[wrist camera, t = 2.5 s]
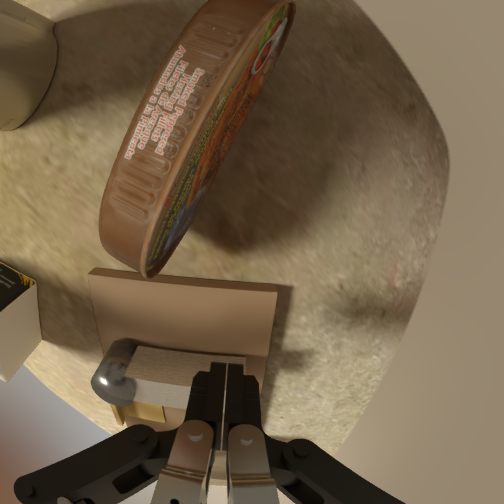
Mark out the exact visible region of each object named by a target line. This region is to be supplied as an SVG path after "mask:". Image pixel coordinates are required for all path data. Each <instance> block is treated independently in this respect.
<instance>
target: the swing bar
mask: <svg viewBox="0 0 504 504" xmlns="http://www.w3.org/2000/svg"><path fill="white" fill-rule="evenodd" d="M211 361H213V362H224V363H227V367H226V381H225V396H224V408H223V413H224V411H225V397H226V384H227V371H228V363H236V364H243V365H244V372H243V375H246V357H231V356H218V355H206V354H196V353H187V352H179V351H171V350H163V349H156V348H150V347H143V346H138V345H136V344H135V343H133V342H131V341H128V340H116V341H114V342H113V343H112V344H111V346H110V348H109V349H108V351H107V353H106V354H105V356H104V358H103V360H102V361H101V363H100V365H99V367H98V368H97V370H96V372H95V374H94V375H93V377H92V379H91V386H92V388H93V390H94V391H95V393H96V394H97V395H98V396H99V397H100V398H102V399H103V400H104V401H106V402H108V403H110V404H112V405H115V406H121V407H125V406H129V405H131V404H132V402H133V401H138V402H143V403H149V404H154V405H160V406H166V407H173V408H180V409H187V404H188V399H189V395H190V390H191V385H192V381H193V377H194V376H195V375H196V374H197V373H198V372H199V371H207V372H210V366H211Z"/></svg>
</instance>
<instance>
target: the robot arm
mask: <svg viewBox="0 0 504 504" xmlns="http://www.w3.org/2000/svg"><path fill="white" fill-rule="evenodd" d="M54 24H55V22H54V21H52V20H50V19H48V18H46V17H44V16H43V15H41V14H39V13H37V12H35V11H33V10H31V9H29V8H27V7H25V6H23V5H21V4H19V3H17V2H15V1H13V0H0V131H10V130H13V129H15V128H17V127H18V126H20V125H21V124H22V123H24V122H25V121H26V120H27V119H28V118H29V117H30V116H31V115H32V113H33V112H34V110H35V109H36V108H37V106H38V105H39V103H40V102H41V100H42V98H43V96H44V95H45V93H46V91H47V88H48V86H49V84H50V82H51V79H52V76H53V73H54V70H55V65H56V61H57V50H58V49H57V42H56V39H55V37H54V35H53V27H54ZM226 367H227V363H224V362H213V361H211V366H210V372H207V371H199V372H198V373H197V374H196V375H195V376H194V377H193V381H192V385H191V390H190V395H189V399H188V404H187V409H186V414H185V419H184V421H183V423H182V424H181V425H180V426H179V427H177V428H176V429H173V430H169V431H159V432H156V431H155V430H154V429H153V428H151V427H150V426H147V425H144V424H135V425H132V426H130V427H128V428H126V429H124V430H122V431H121V432H119V433H117V434H115V435H113V436H111V437H109V438H107V439H105V440H103V441H101V442H99V443H97V444H95V445H94V446H91V447H90V448H87V449H85V450H83V451H81V452H79V453H77V454H75V455H73V456H70V457H68V458H66V459H64V460H61V461H59V462H57V463H55V464H52V465H49V466H47V467H45V468H42V469H40V470H37V471H35V472H32V473H30V474H27V475H24V476H22V477H19V478H18V479H17V480H16V482H15V484H14V492H15V495H16V497H17V499H18V500H19V501H20V502H21V503H23V504H117V503H120V502H121V501H123V500H125V499H127V498H128V497H130V496H132V495H134V494H135V493H137V492H139V491H140V490H142V489H143V488H145V487H147V486H148V485H150V484H152V483H153V482H155V481H156V480H158V481H157V484H156V487H155V491H154V494H153V497H152V500H151V503H150V504H207V497H208V491H209V486H210V480H211V475H212V469H213V464H214V462H215V452H216V450H219V451H220V449H221V435H222V422H223V408H224V396H225V381H226ZM243 372H244V365H243V364H236V363H228V371H227V384H226V397H225V411H224V425H223V442H222V451H227V453H226V482H227V498H228V504H279V498H278V493H277V488H278V489H279V490H280V491H281V492H282V493H283V494H284V495H286V496H287V497H288V498H289V499H290V500H292V501H293V502H294V503H295V504H405V503H403V502H402V501H400V500H398V499H397V498H395V497H393V496H391V495H390V494H388V493H386V492H385V491H383V490H381V489H380V488H378V487H376V486H375V485H373V484H372V483H370V482H368V481H367V480H365V479H364V478H362V477H361V476H359V475H358V474H356V473H355V472H353V471H352V470H350V469H349V468H347V467H346V466H344V465H343V464H342V463H340V462H339V461H337V460H336V459H335V458H333V457H332V456H330V455H329V454H328V453H326V452H325V451H324V450H322V449H321V448H320V447H318V446H317V445H316V444H314V443H313V442H311V441H309V440H307V439H294V440H291V441H290V442H288V443H286V442H282V441H278V440H275V439H273V438H271V437H269V436H268V435H266V434H265V432H264V431H263V429H262V426H261V410H260V394H259V382H258V381H257V379H256V378H255V376H254V375H243Z"/></svg>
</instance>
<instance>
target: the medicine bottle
mask: <svg viewBox="0 0 504 504" xmlns="http://www.w3.org/2000/svg"><path fill="white" fill-rule="evenodd" d="M41 341H42V336H41V329H40V321H39V311H38V299H37V284H36V281H35V280H33V279H31V278H29V277H27V276H25V275H24V274H22V273H20V272H18V271H16V270H14V269H12V268H11V267H9V266H7V265H5V264H3V263H2V262H0V379H1V380H3V381H4V382H9V380H10V379H11V378H12V377H13V375H14V374H15V373H16V371H17V370H18V369H19V368H20V366H21V365H22V364H23V363H24V361H25V360H26V359H27V358H28V356H29V355H30V354H31V353H32V352H33V350H34V349H35V348H36V347H37V346H38V345H39V343H40V342H41Z"/></svg>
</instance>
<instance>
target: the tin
mask: <svg viewBox="0 0 504 504" xmlns="http://www.w3.org/2000/svg"><path fill="white" fill-rule="evenodd" d="M295 7H296V6H295V2H293V1H292V0H209V1H208V2H206V3H205V4H204V5H203V6H202V7H201V8H200V9H199V10H198V11H197V13H196V14H195V15H194V16H193V17H192V19H191V20H190V21H189V23H188V24H187V26H186V27H185V28H184V30H183V31H182V33H181V34H180V36H179V37H178V39H177V40H176V42H175V43H174V45H173V46H172V48H171V49H170V51H169V52H168V54H167V56H166V57H165V59H164V61H163V62H162V64H161V66H160V68H159V69H158V71H157V73H156V74H155V76H154V78H153V80H152V81H151V83H150V85H149V87H148V89H147V90H146V92H145V95H144V97H143V99H142V101H141V103H140V105H139V106H138V108H137V111H136V113H135V115H134V117H133V119H132V122H131V124H130V126H129V128H128V131H127V133H126V135H125V137H124V140H123V142H122V145H121V147H120V150H119V152H118V155H117V158H116V160H115V162H114V165H113V168H112V170H111V173H110V176H109V179H108V182H107V184H106V188H105V191H104V194H103V198H102V203H101V208H100V214H99V235H100V240H101V243H102V246H103V247H104V249H105V250H106V251H107V252H108V253H109V254H110V255H111V256H113V257H114V258H116V259H117V260H119V261H121V262H122V263H124V264H126V265H128V266H129V267H131V268H133V269H135V270H136V271H138V272H140V273H142V275H143V276H144V277H145V278H146V279H152V278H153V277H155V276H156V275H157V274H158V273H159V272H160V271H161V269H162V268H163V267H164V266H165V264H166V263H167V261H168V260H169V258H170V257H171V255H172V254H173V252H174V250H175V249H176V247H177V246H178V244H179V243H180V241H181V239H182V238H183V236H184V235H185V233H186V231H187V230H188V228H189V226H190V224H191V223H192V221H193V219H194V217H195V215H196V213H197V211H198V209H199V207H200V205H201V203H202V201H203V199H204V197H205V195H206V193H207V191H208V189H209V187H210V185H211V183H212V181H213V179H214V177H215V175H216V173H217V171H218V169H219V167H220V165H221V163H222V161H223V159H224V157H225V155H226V153H227V151H228V150H229V148H230V146H231V144H232V142H233V140H234V138H235V136H236V135H237V133H238V131H239V129H240V127H241V125H242V124H243V122H244V120H245V118H246V116H247V115H248V113H249V111H250V109H251V108H252V106H253V104H254V102H255V100H256V99H257V97H258V95H259V93H260V92H261V90H262V88H263V86H264V84H265V83H266V81H267V79H268V77H269V75H270V73H271V71H272V69H273V67H274V65H275V63H276V61H277V59H278V57H279V55H280V53H281V51H282V49H283V47H284V44H285V42H286V39H287V37H288V34H289V31H290V28H291V26H292V23H293V20H294V15H295V12H296V10H295V9H296V8H295Z"/></svg>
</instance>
